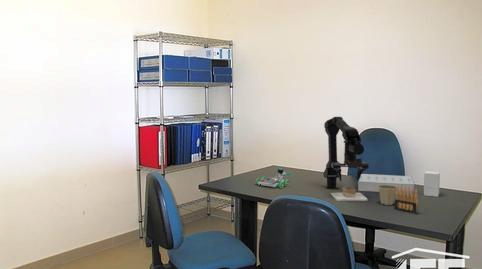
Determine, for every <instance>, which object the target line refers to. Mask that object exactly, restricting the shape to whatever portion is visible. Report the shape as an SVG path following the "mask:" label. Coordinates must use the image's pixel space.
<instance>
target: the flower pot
mask: <svg viewBox="0 0 482 269" xmlns="http://www.w3.org/2000/svg"><path fill="white" fill-rule="evenodd" d="M378 188H379V192H378V193H379V200H380V204H381V205H386V206H392V205H395V198H396V193H395V192H396V188H397V187H396V186H392V185H379V186H378Z"/></svg>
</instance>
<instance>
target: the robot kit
mask: <svg viewBox="0 0 482 269" xmlns="http://www.w3.org/2000/svg"><path fill="white" fill-rule="evenodd" d="M277 173H278V174H277V175H275V177H270V176H268V177H267V176H264V175H263V176H262V177H261V178H260V177H258V178H256V179H255V185H256V184H258V185H257V186H265V187H273V188H276V187H277V188H278V189H283V188H284V187H286V186H287V187H289V185H290V181H289V179H284V178H283V177H284V176H290V175H292V174H291V172H286V171H284V168H278V169H277ZM260 184H261V185H260Z"/></svg>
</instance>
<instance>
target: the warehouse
mask: <svg viewBox="0 0 482 269" xmlns="http://www.w3.org/2000/svg"><path fill="white" fill-rule="evenodd" d="M379 185H392V186H396V187H397V185H398V186H399V194H400V187H401V186H402V189H403V192H404V187H406V194H407V189H408V187H409V188H410V195H411V189H412V187H413V190H414V191H415V187H416V186H415V182H414V180H413V178H412V175H395V174H394V175H393V174H392V175H391V174H375V173H374V174H372V173H362V174H361V176H360V179H359V181H357V188H358V189H357V191H359V192H360V191H362V192H377V193H379V188H378V186H379ZM395 194H396V192H395Z"/></svg>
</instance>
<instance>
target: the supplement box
mask: <svg viewBox="0 0 482 269" xmlns="http://www.w3.org/2000/svg"><path fill="white" fill-rule="evenodd" d="M423 174H424V176H423V177H424V178H423V196H427V197H439V196H440V182H441V181H440V180H441V179H440V178H441V171H432V170H431V171H430V170H425V172H424V173H423Z"/></svg>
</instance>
